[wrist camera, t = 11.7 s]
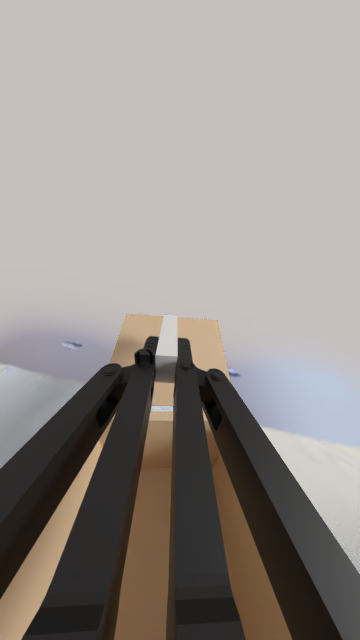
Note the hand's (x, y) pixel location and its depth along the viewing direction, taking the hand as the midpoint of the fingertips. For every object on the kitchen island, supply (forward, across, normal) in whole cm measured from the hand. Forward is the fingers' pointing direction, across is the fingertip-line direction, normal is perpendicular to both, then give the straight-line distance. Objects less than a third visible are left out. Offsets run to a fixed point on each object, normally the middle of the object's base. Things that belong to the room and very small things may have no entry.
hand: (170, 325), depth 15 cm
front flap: (-5, +1, -7) cm, 9 cm away
